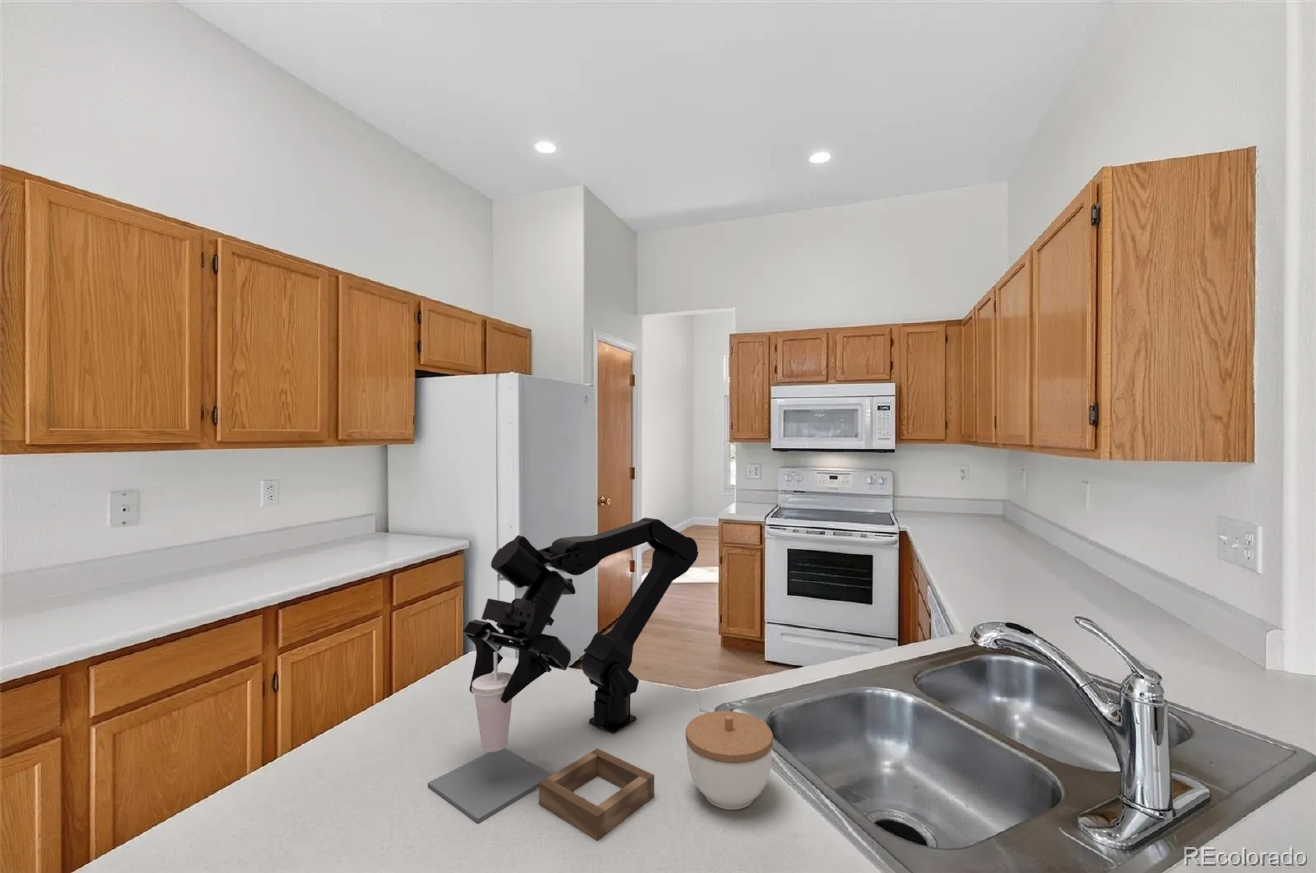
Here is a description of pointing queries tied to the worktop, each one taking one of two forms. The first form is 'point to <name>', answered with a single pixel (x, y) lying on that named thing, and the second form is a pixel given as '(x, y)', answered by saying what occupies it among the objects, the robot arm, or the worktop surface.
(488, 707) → the smoothie
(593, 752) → the walnut holder
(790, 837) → the worktop surface
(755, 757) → the lidded bowl
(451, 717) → the worktop surface
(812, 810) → the worktop surface
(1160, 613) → the worktop surface
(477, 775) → the slate mat
